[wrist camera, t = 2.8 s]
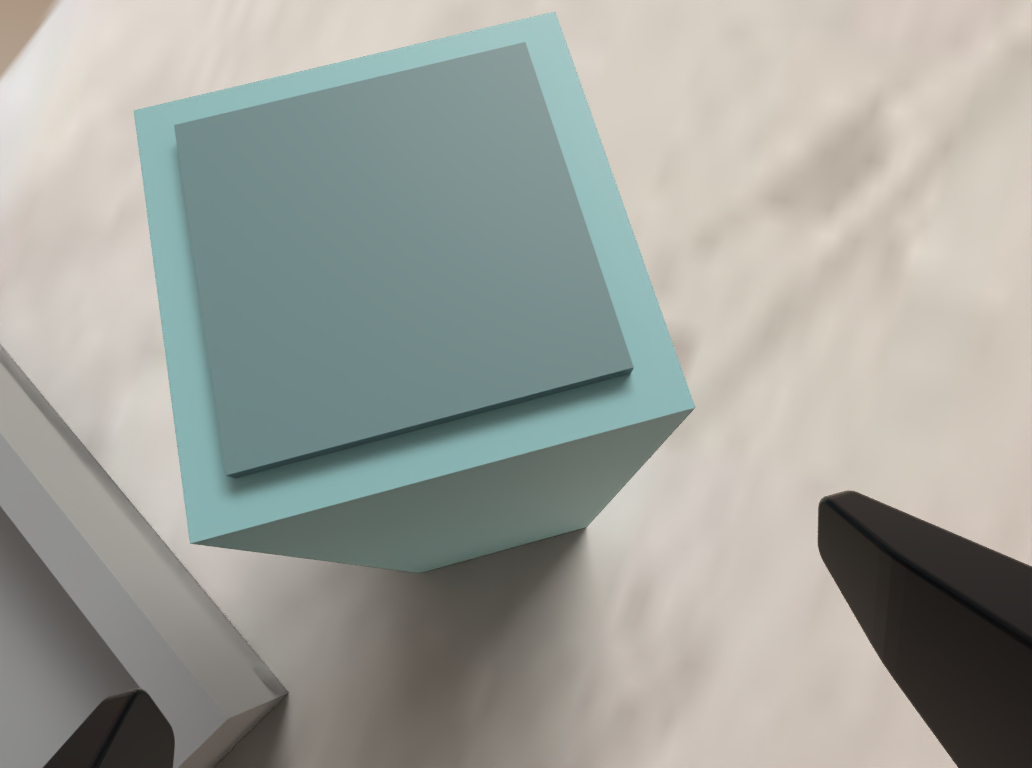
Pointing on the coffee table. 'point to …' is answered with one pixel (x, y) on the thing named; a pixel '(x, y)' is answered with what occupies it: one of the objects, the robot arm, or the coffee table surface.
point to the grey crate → (102, 604)
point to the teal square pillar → (403, 305)
